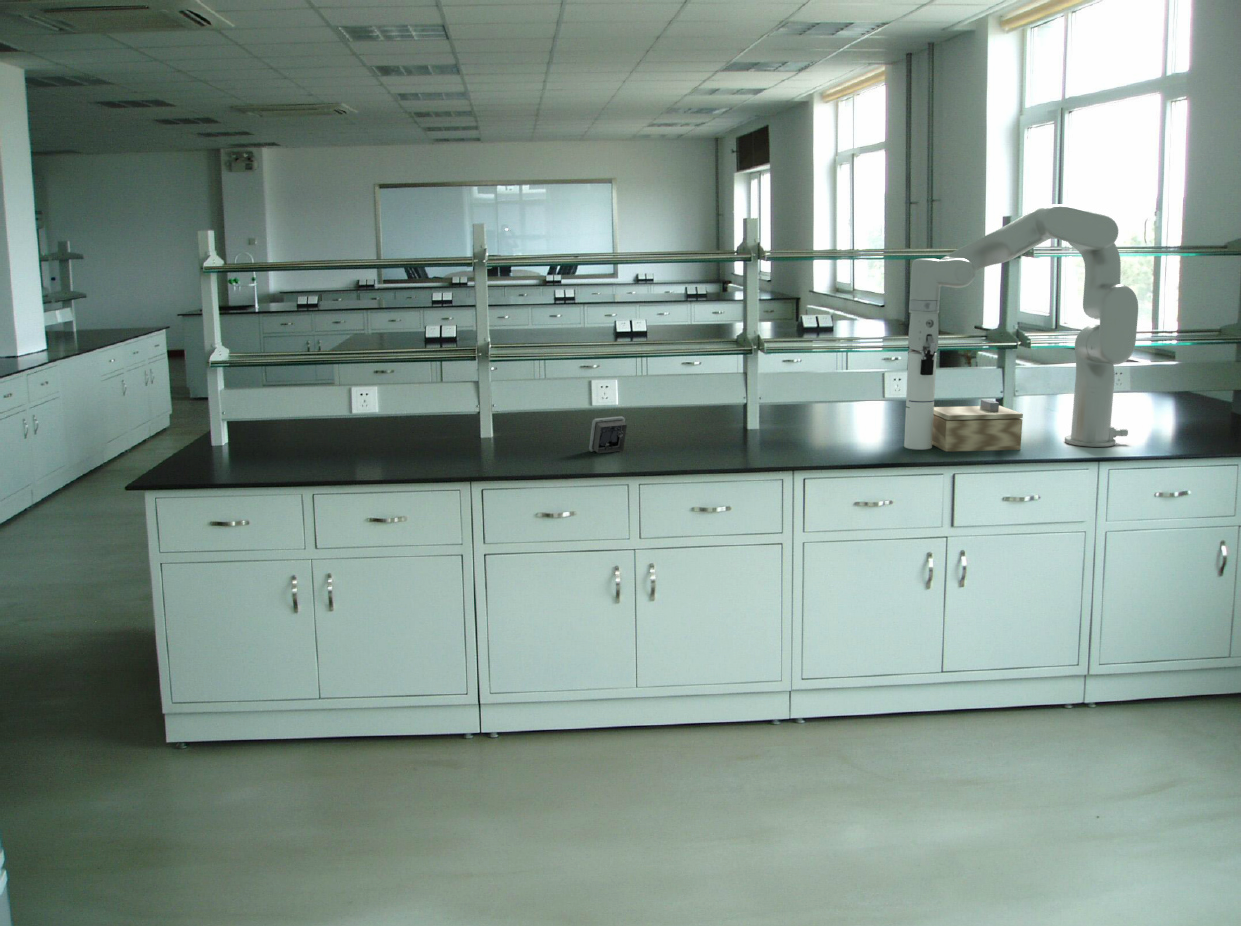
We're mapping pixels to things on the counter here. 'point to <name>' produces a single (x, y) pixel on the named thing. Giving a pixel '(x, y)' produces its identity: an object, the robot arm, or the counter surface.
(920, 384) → the cylindrical container
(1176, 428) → the counter surface
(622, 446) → the electrical switch
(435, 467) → the counter surface
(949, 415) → the lid
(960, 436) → the wooden box
